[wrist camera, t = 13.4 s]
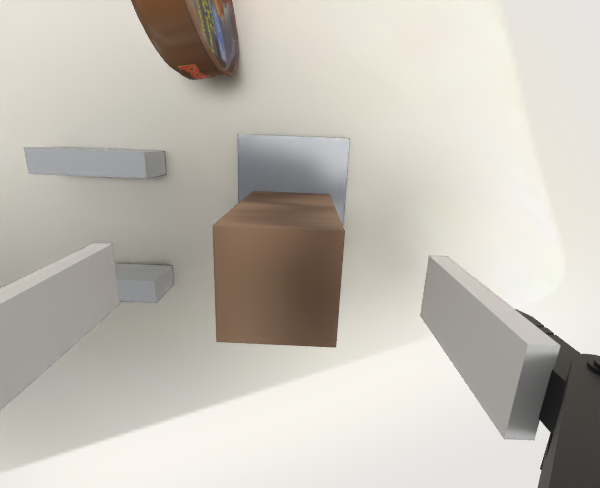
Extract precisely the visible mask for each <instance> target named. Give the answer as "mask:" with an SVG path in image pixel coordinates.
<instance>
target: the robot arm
mask: <svg viewBox="0 0 600 488" xmlns="http://www.w3.org/2000/svg"><path fill="white" fill-rule="evenodd" d="M118 305H119V296H118V288H117V279H116V271H115V262H114V254H113V245H112V244H109V243H93V244H91V245H88V246H86V247H84V248H82V249H80V250H78V251H76V252H74V253H72V254H70V255H68V256H66V257H64V258H62V259H60V260H58V261H56V262H53V263H51V264H49V265H47V266H45V267H43V268H41V269H39V270H37V271H35V272H33V273H31V274H29V275H27V276H25V277H23V278H21V279H19V280H16V281H14V282H12V283H10V284H8V285H6V286H4V287H2V288H0V410H1V409H3V408H4V407H5V406H6V405H7V404H8V403H9V402H10V401H12V400H13V399H14V398H15V397H16V396H17V395H18V394H19V393H21V392H22V391H23V390H24V389H25V388H26V387H27V386H28V385H30V384H31V383H32V382H33V381H34V380H35V379H36V378H37V377H38V376H40V375H41V374H42V373H43V372H44V371H45V370H46V369H47V368H49V367H50V366H51V365H52V364H53V363H54V362H55V361H56V360H58V359H59V358H60V357H61V356H62V355H63V354H64V353H65V352H67V351H68V350H69V349H70V348H71V347H72V346H73V345H74V344H76V343H77V342H78V341H79V340H80V339H81V338H82V337H83V336H85V335H86V334H87V333H88V332H89V331H90V330H91V329H92V328H94V327H95V326H96V325H97V324H98V323H99V322H100V321H101V320H102V319H104V318H105V317H106V316H107V315H108V314H109V313H110V312H111V311H113V310H114V309H115V308H116V307H117V306H118ZM420 316H421V317H422V319H423V320H424V322H425V323H426V325H427V326H428V328H429V329H430V331H431V332H432V334H433V335H434V336H435V338H436V339H437V341H438V342H439V344H440V345H441V347H442V348H443V350H444V351H445V353H446V354H447V356H448V357H449V359H450V360H451V361H452V363H453V364H454V366H455V367H456V369H457V370H458V372H459V373H460V375H461V376H462V378H463V379H464V381H465V382H466V384H467V385H468V386H469V388H470V390H471V391H472V392H473V394H474V395H475V397H476V398H477V400H478V401H479V403H480V404H481V406H482V407H483V409H484V410H485V411H486V413H487V414H488V416H489V417H490V419H491V420H492V422H493V423H494V425H495V426H496V428H497V429H498V431H499V432H500V434H501V435H502V436H503V438H504V439H513V440H534V439H535V435H536V431H537V428H538V424H539V421H541V422H542V423H543V424H544V425H545V426H546V428H547V429H548V430H549V431H550V432H551V433H550V437H549V441H548V444H547V447H546V450H545V454H544V457H543V461H542V464H541V467H540V469H541V470H542V471H541V475H540V480H539V485H538V488H600V356H597V355H591V354H580V353H579V352H578V351H576V350H575V349H574V348H572V347H571V346H570V345H568V344H567V343H566V342H564V341H563V340H562V339H560V338H559V337H558V336H557V335H554V333H553V332H551V331H550V330H549V329H548V328H545V327H544V325H542V324H541V323H540V322H538V321H537V320H536V319H534V318H533V317H531V316H529V315H527V314H525V313H523V312H521V311H519V310H517V309H514V308H512V307H511V306H510V305H509V304H507V303H506V302H505V301H504V300H502V299H501V298H500V297H499V296H497V295H496V294H495V293H493V292H492V291H491V290H490V289H488V288H487V287H486V286H485V285H483V284H482V283H481V282H480V281H478V280H477V279H476V278H474V277H473V276H472V275H471V274H469V273H468V272H467V271H466V270H464V269H463V268H462V267H461V266H459V265H458V264H457V263H455V262H454V261H453V260H452V259H450V258H449V257H448V256H429V260H428V267H427V273H426V280H425V287H424V294H423V300H422V307H421V314H420Z"/></svg>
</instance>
